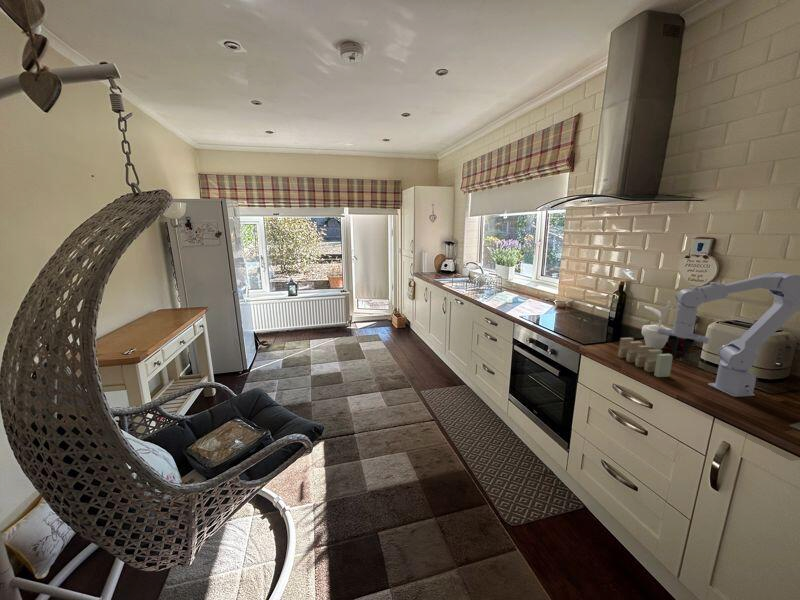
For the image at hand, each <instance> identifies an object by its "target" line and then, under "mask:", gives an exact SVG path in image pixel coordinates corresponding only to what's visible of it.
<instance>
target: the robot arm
mask: <svg viewBox="0 0 800 600" xmlns="http://www.w3.org/2000/svg"><path fill="white" fill-rule="evenodd" d="M756 289H765V290H768V291H770V293H771V294H772V296H773V298H774V301H775V302H774V304H773V305H771V307H770V308H769V309H767V310H766V311H765V312H764V314H762V315H761V316H760V318H758V320H756V322H754V323H753V324H752V325H751V327H750V328H748V329H747V330H746V331H745V332H744V333H743V334H742V335H741V337H739V338H737V339H734V340H731V341H730V342H729V343H727V344H725V345H722V346H721V347H720V348H719V349H718V350H717V355H718V357H719V358H720V361H719V364H718V368H717V373H716V374H717V375H716V379H715V382H709V383H708V386H710V387H712V388H714V389H716V390H719V391H720V392H723V393H726V394H727V395H730V396H732V397H734V398H735V397H736V398H737V397H754V396H755V395H756V394H755V393H754V390H755V386H756V383H757V382H756V381H757V377H756V375H755V374H754V373H751V372H750V371H749V369H751V368H752V366H753V365H754V364H755V363H754V362H755V360H756V358H758V357H759V348H760V347H761V346H762V345H763V344H764V343H765V342H767V340H768V339H769V338H770V337H772V335H774V334H775V333H777V331H778V329H780V328H781V327H782V326H783V325H784V324H785V323H787V321H788V320H790V319H791V317H792V316H793V315H794V314H796V313H797V312H798V311H799V310H800V275H799V274H798V275H797V274H791V273H786V272H783V271H774V272H770V273H763V274H760V275H756V276H752V277H749V278H746V279H745V278H744V279H741V280H737V281H735V282H734V281H733V282H729V283H727V284H725V283H724V284H723V283H722V282H715V281H712V282H711V281H710V282H709V284H706V285H703V286H699V287H698V286H694V287H692V289H691V288H690V289H689V288H683V289H681V290H680V291H678V293H677V294H676V295H675V299H676V301H677V306H676V311H675V317H674V323H673V329H671V330H667V329H658V334H660V335H661V334H662V335H667V336H669V338H668V341H667V342H668V343H669V346H670V349H671V355H672V356H673V357H676V356H677V353H678V347H679V346H678V345H679V342H680V339H683V344H682V345H683V346H682V351H681V352H682V353H681V357H680V358H681V359H685V358H686V355H687V354H688V352H689V350H690V349H691V347H692V346H693V345H694V343H696V342H698V343H703V344H705V345H708V344H709V342H710V337H707V336H704V335H703V336H702V335H699V334H696V333H694V331H695V330H694V329H695V325H696V319H697V314H698V308H699V306H701V304H704V303H709V302H713V301H718V300H723V299H726V298H727V297H728V296H729V295H730V294H735V293H739V292H740V293H741V292H746V291H750V290H756Z"/></svg>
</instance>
